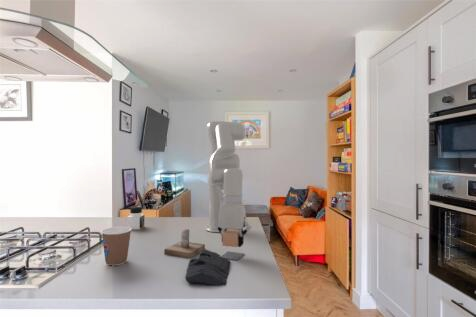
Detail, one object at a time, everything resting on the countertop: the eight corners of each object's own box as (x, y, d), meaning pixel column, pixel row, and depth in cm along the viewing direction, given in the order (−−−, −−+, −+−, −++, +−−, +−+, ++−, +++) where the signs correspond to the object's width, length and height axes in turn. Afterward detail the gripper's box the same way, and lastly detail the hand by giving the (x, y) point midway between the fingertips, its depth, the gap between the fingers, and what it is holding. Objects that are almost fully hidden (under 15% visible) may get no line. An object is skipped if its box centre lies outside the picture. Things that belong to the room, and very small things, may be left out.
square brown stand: (180, 245, 120) (180, 225, 120) (204, 248, 116) (204, 227, 116) (164, 254, 109) (164, 231, 109) (190, 258, 104) (190, 234, 104)
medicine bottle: (139, 229, 148) (140, 207, 148) (126, 229, 148) (127, 207, 148) (144, 226, 155) (144, 205, 155) (132, 226, 155) (132, 205, 155)
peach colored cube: (222, 245, 105) (222, 232, 105) (228, 241, 110) (228, 229, 111) (236, 247, 103) (236, 234, 103) (242, 242, 108) (242, 230, 108)
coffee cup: (101, 259, 102) (102, 227, 102) (130, 256, 106) (131, 225, 106) (99, 269, 93) (100, 234, 93) (131, 265, 97) (132, 231, 97)
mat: (227, 252, 112) (227, 251, 112) (244, 254, 109) (244, 253, 109) (220, 258, 104) (220, 257, 104) (237, 260, 102) (237, 259, 102)
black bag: (176, 287, 81) (177, 271, 81) (191, 260, 103) (191, 248, 103) (227, 288, 81) (227, 272, 81) (231, 261, 103) (231, 248, 103)
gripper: (209, 199, 107) (208, 245, 106) (250, 202, 100) (250, 250, 100) (217, 197, 114) (216, 240, 113) (256, 199, 107) (256, 244, 107)
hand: (232, 244), depth 107 cm, fingers closed on peach colored cube, 6 cm apart
